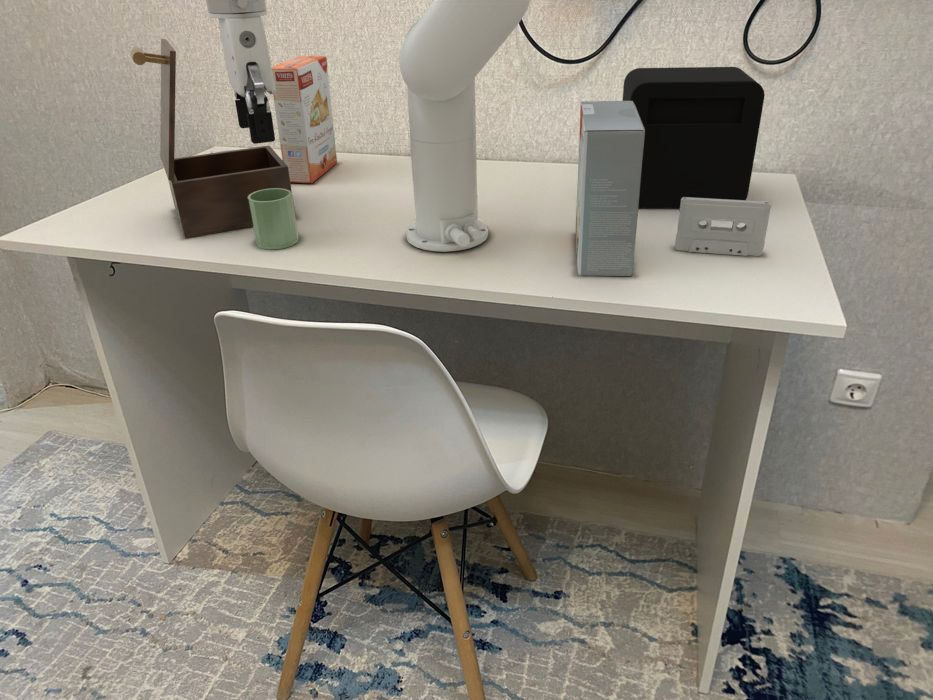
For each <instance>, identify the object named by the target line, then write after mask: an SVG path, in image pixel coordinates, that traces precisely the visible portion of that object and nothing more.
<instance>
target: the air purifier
mask: <svg viewBox="0 0 933 700" xmlns="http://www.w3.org/2000/svg"><path fill="white" fill-rule="evenodd" d="M622 88H623V89H622V100H621V101H633V103H634V104H635V106H636V108H637V111H638V114H639V116H640V119H641V121H642V124H643V126H644V129H645V136H644V147H643V158H642V169H641V181H640V193H639V205H638V209H680V203H681V198H683V197H690V198H709V199H727V200H746V201H747V199H748V197H749V192H750V186H751V179H752V175H753V167H754V162H755V155H756V149H757V144H758V139H759V133H760V126H761V120H762V114H763V107H764V102H765V89H764V87H763V86H762V85H761V84H760V83H759V82H758V81H756V80H755V79H754V78H753V77H752V76H750V75H749V74H748V73H746V72H745V71H744V70H742V69H741V68H740V67H737V66H694V67H692V66H689V67H685V66H684V67H683V66H681V67H636V68H633V69H632V70H630V71H629V72H628V73H627V74H626V76H625V78H624V80H623V87H622Z"/></svg>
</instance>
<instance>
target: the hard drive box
mask: <svg viewBox="0 0 933 700" xmlns="http://www.w3.org/2000/svg"><path fill="white" fill-rule="evenodd" d="M579 108H580V109H579V111H580V112H579V133H578V134H579V137H578V158H577V159H578V161H577V180H576V181H577V182H576V183H577V184H576V206H575V207H576V208H575V209H576V210H575V213H576V214H575V247H576V265H577V266H576V267H577V275H578V276H580V277H581V276H583V277H585V276H588V277H589V276H593V277H594V276H596V277H597V276H599V277H600V276H601V277H603V276H604V277H631V276H633V270H634V261H635V249H636V240H637V239H636V237H637V226H638V215H639V208H638V205H639V193H640V181H641V169H642V158H643V147H644V136H645V129H644V126H643V124H642V121H641V119H640V116H639V114H638V111H637V108H636V106H635V104H634V103H633V101H622V100H589V101H580V107H579Z"/></svg>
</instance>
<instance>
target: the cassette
mask: <svg viewBox="0 0 933 700" xmlns="http://www.w3.org/2000/svg"><path fill="white" fill-rule="evenodd" d="M771 210H772V205H771V202H770V201H763V200H761V201H760V200H747V199H746V200H727V199H709V198H690V197H683V198H681V203H680V208H679V211H678V212H679V213H678V221H677V229H676V234H675V242H674V248H675V250H676V251H683V252H686V251H687V252H690V253H702V254H703V253H704V254H715V255H730V256H731V255H732V256H733V255H734V256H744V257H749V256H755V257H760V256H761V257H762V255H763V254H764V249H765V248H764V247H765V242H766V236H767V231H768V225H769V221H770V220H769V219H770V213H771ZM704 221H705V222H706V223H705V224H700V222H704ZM713 221H718V222H731V223H732V224H731V225H732V226H731V227H724V226H712V222H713ZM739 224H744V226H740V227H739V226H738V225H739Z"/></svg>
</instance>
